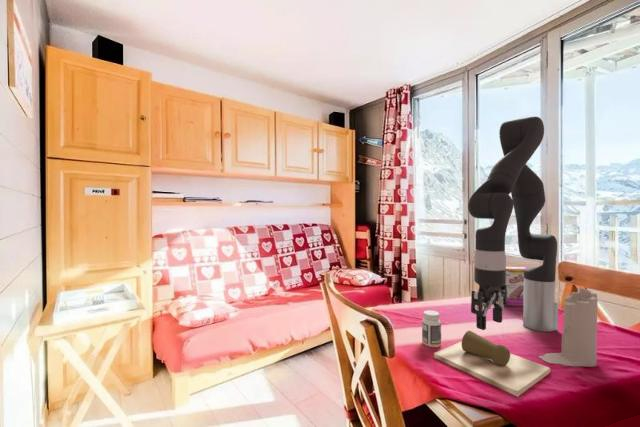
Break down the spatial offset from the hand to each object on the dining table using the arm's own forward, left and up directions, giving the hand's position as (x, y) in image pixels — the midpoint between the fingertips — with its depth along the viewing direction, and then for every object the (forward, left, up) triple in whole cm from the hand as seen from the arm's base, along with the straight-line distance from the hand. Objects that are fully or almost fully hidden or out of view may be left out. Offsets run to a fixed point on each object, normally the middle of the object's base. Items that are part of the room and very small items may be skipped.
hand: (489, 325), depth 84 cm
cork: (+4, -5, -7) cm, 9 cm away
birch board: (0, 0, -11) cm, 11 cm away
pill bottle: (+12, -12, -11) cm, 20 cm away
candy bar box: (-35, -53, -11) cm, 64 cm away
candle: (-23, -4, -11) cm, 26 cm away
